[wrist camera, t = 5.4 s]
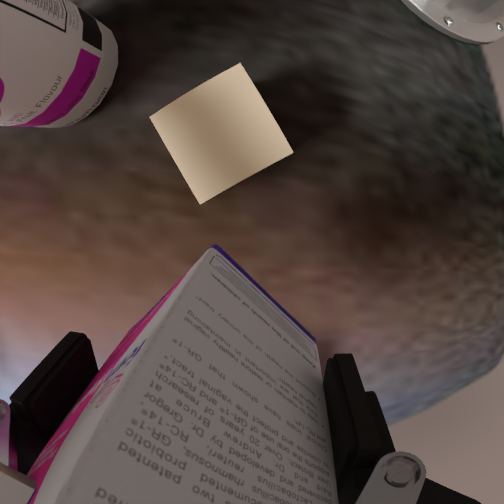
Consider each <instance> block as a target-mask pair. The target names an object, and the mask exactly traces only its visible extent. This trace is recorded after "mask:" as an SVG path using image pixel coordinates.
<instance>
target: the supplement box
mask: <svg viewBox="0 0 504 504" xmlns="http://www.w3.org/2000/svg"><path fill="white" fill-rule="evenodd" d="M26 476H29V477H31V478H33V479H35V480H36V487H35V491H34V492H33V494H32V496H31V497H30V499H29V501H28V502H27V504H339V503H338V495H337V484H336V475H335V467H334V459H333V451H332V442H331V435H330V428H329V420H328V413H327V406H326V400H325V393H324V388H323V380H322V374H321V367H320V361H319V354H318V348H317V345H316V339H315V337H314V336H312V335H311V334H310V332H309V331H308V330H307V329H305V328H304V327H303V326H302V325H301V324H300V323H299V322H298V321H297V320H296V319H295V318H293V317H292V316H291V315H290V314H289V313H288V312H287V311H286V310H285V309H284V308H283V307H282V306H281V305H280V304H278V302H277V301H275V300H274V299H273V298H272V297H271V296H270V295H269V294H268V293H267V292H266V291H265V290H264V289H263V288H262V287H261V286H260V285H259V284H258V283H257V282H256V281H255V280H254V279H253V278H252V277H251V276H250V275H249V274H248V273H247V272H246V271H245V270H244V269H243V268H241V267H240V266H239V265H238V264H237V263H236V262H235V261H234V260H233V259H232V258H231V257H230V256H229V255H228V254H227V253H226V252H225V251H224V250H223V249H222V248H221V247H219V246H218V245H212V246H211V247H210V248H209V249H208V250H207V251H206V252H205V253H204V254H203V255H202V257H201V258H200V259H199V260H198V261H197V262H196V263H195V264H194V265H193V267H192V268H191V269H190V270H189V271H188V272H187V273H186V274H185V275H184V276H183V277H182V278H181V279H180V280H179V281H178V282H177V283H176V284H175V285H174V286H173V287H172V288H171V289H170V290H169V292H168V293H167V294H166V295H165V296H164V297H163V298H162V299H161V300H160V301H159V302H158V303H157V304H156V305H155V306H154V307H153V308H152V309H151V310H150V311H149V312H148V313H147V314H146V315H145V316H144V317H143V318H142V319H141V320H139V321H138V322H137V323H136V324H135V325H134V326H133V327H132V328H131V329H130V330H129V331H128V333H127V334H126V336H125V337H124V338H123V340H122V341H121V342H120V343H119V345H118V346H117V347H116V349H115V350H114V351H113V353H112V354H111V355H110V356H109V358H108V359H107V360H106V362H105V363H104V365H103V366H102V367H101V369H100V370H99V371H98V373H97V374H96V375H95V377H94V378H93V379H92V381H91V382H90V384H89V385H88V386H87V388H86V389H85V390H84V392H83V393H82V395H81V396H80V397H79V399H78V400H77V402H76V403H75V404H74V406H73V407H72V409H71V410H70V411H69V413H68V414H67V416H66V417H65V419H64V420H63V422H62V423H61V424H60V426H59V428H58V429H57V430H56V432H55V433H54V435H53V436H52V438H51V439H50V440H49V442H48V443H47V445H46V446H45V448H44V449H43V451H42V452H41V454H40V455H39V457H38V458H37V460H36V461H35V463H34V464H33V466H32V467H31V469H30V471H29V472H28V474H27V475H26Z"/></svg>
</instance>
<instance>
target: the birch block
mask: <svg viewBox="0 0 504 504" xmlns="http://www.w3.org/2000/svg"><path fill="white" fill-rule="evenodd" d="M150 119H151V121H152V122H153V124H154V126H155V128H156V129H157V131H158V133H159V135H160V136H161V138H162V140H163V142H164V143H165V145H166V147H167V149H168V150H169V152H170V154H171V156H172V157H173V159H174V161H175V163H176V164H177V166H178V168H179V169H180V171H181V173H182V175H183V176H184V178H185V180H186V181H187V183H188V185H189V187H190V188H191V190H192V192H193V193H194V195H195V197H196V199H197V200H198V202H199V204H202V203H204V202H205V201H207V200H209V199H210V198H212V197H214V196H216V195H217V194H219V193H221V192H223V191H224V190H226V189H228V188H230V187H231V186H233V185H235V184H237V183H238V182H240V181H242V180H244V179H246V178H247V177H249V176H251V175H253V174H255V173H257V172H258V171H260V170H262V169H264V168H266V167H268V166H269V165H271V164H273V163H275V162H277V161H279V160H281V159H282V158H284V157H286V156H288V155H290V154H292V153H294V152H293V150H292V149H291V147H290V145H289V143H288V141H287V140H286V138H285V136H284V134H283V133H282V131H281V129H280V127H279V126H278V124H277V122H276V121H275V119H274V117H273V115H272V114H271V112H270V110H269V109H268V107H267V105H266V104H265V102H264V100H263V99H262V97H261V95H260V94H259V92H258V90H257V89H256V87H255V86H254V84H253V82H252V81H251V79H250V77H249V76H248V74H247V73H246V71H245V70H244V68H243V66H242V65H241V63H239V64H237V65H236V66H234V67H232V68H230V69H228V70H226V71H224V72H222V73H221V74H219V75H217V76H215V77H213V78H212V79H210V80H208V81H206V82H205V83H203V84H201V85H199V86H198V87H196V88H194V89H193V90H191V91H189V92H188V93H186V94H184V95H183V96H181V97H180V98H178V99H176V100H175V101H173V102H172V103H170V104H169V105H167V106H165V107H164V108H162V109H161V110H159V111H158V112H156V113H155V114H153V115H152V116H150Z"/></svg>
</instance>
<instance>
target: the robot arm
mask: <svg viewBox="0 0 504 504" xmlns="http://www.w3.org/2000/svg"><path fill="white" fill-rule="evenodd" d="M401 1H402V2H403V3H404V4H405V5H406V6H407V7H408V8H409V9H410V10H411V11H412V12H414V13H415V14H416V15H417V16H419V17H420V18H421V19H422V20H423V21H425V22H426V23H428V24H429V25H431V26H432V27H434V28H435V29H437V30H438V31H440V32H442V33H444V34H446V35H448V36H450V37H451V38H454V39H457V40H459V41H462V42H465V43H470V44H476V45H480V44H488V43H492V42H495V41H497V40H499V39H501V38H502V37H504V0H401ZM97 373H98V367H97V364H96V360H95V356H94V352H93V348H92V345H91V341H90V339H88V338H87V336H86V335H85V334H84V333H78V332H69V333H68V334H67V335H66V336H65V337H64V338H63V339H62V340H61V341H60V342H59V343H58V344H57V345H56V346H55V347H54V349H53V350H52V351H51V352H50V353H49V354H48V355H47V356H46V357H45V358H44V359H43V360H42V361H41V363H40V364H39V365H38V366H37V367H36V368H35V369H34V370H33V371H32V372H31V374H30V375H29V376H28V377H27V378H26V379H25V380H24V381H23V383H22V384H21V385H20V386H19V387H18V388H17V389H16V391H15V392H14V393H13V394H12V395H11V396H10V397H9V398H10V400H11V404H10V405H8V403H7V402H5V401H4V400H1V399H0V504H27V502H28V501H29V499H30V497H31V496H32V494H33V492H34V491H35V487H36V480H35V479H33V478H31V477H29V476H26V475H27V474H28V472H29V471H30V469H31V467H32V466H33V464H34V463H35V461H36V460H37V458H38V457H39V455H40V454H41V452H42V451H43V449H44V448H45V446H46V445H47V443H48V442H49V440H50V439H51V438H52V436H53V435H54V433H55V432H56V430H57V429H58V428H59V426H60V424H61V423H62V422H63V420H64V419H65V417H66V416H67V414H68V413H69V411H70V410H71V409H72V407H73V406H74V404H75V403H76V402H77V400H78V399H79V397H80V396H81V395H82V393H83V392H84V390H85V389H86V388H87V386H88V385H89V384H90V382H91V381H92V379H93V378H94V377H95V375H96V374H97ZM323 388H324V393H325V400H326V406H327V413H328V420H329V428H330V435H331V442H332V451H333V459H334V467H335V475H336V484H337V495H338V503H339V504H481V503H480V502H478V501H476V500H475V499H472V498H470V497H467V496H465V495H463V494H460V493H458V492H456V491H453V490H451V489H449V488H447V487H444V486H442V485H440V484H438V483H436V482H434V481H432V480H429V479H427V478H425V477H426V469H425V466H424V464H423V462H422V461H421V460H420V459H419V458H418V457H416V456H415V455H413V454H410V453H407V452H396V451H395V448H394V445H393V442H392V439H391V436H390V433H389V430H388V427H387V424H386V421H385V418H384V415H383V412H382V410H381V407H380V404H379V401H378V398H377V396H376V394H375V392H373V391H368V392H365V390H364V387H363V384H362V381H361V378H360V375H359V372H358V369H357V366H356V363H355V360H354V358H353V355H352V354H334V356H333V358H328V360H327V365H326V370H325V376H324V381H323Z"/></svg>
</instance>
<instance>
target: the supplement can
mask: <svg viewBox="0 0 504 504" xmlns="http://www.w3.org/2000/svg"><path fill="white" fill-rule="evenodd" d="M117 66H118V45H117V42H116V40H115V38H114V36H113V33H112V31H111V30H110V29H108V28H107V27H106V26H105V25H103V24H102V23H101V22H99V21H98V20H97V19H95V18H94V17H92V16H91V15H89V14H88V13H87V12H85V11H84V10H82V9H81V8H79V7H78V6H76V5H75V4H73V3H72V2H70V1H69V0H0V126H27V127H47V128H57V127H67V126H71V125H73V124H74V123H76V122H78V121H80V120H82V119H84V118H86V117H87V116H88V115H89V114H90V113H91V112H92V111H93V110H94V109H95V108H96V107H97V106H98V105H99V104H100V103H101V102H102V100H103V98H104V97H105V95H106V93H107V92H108V90H109V88H110V87H111V85H112V83H113V79H114V76H115V73H116V69H117Z"/></svg>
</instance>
